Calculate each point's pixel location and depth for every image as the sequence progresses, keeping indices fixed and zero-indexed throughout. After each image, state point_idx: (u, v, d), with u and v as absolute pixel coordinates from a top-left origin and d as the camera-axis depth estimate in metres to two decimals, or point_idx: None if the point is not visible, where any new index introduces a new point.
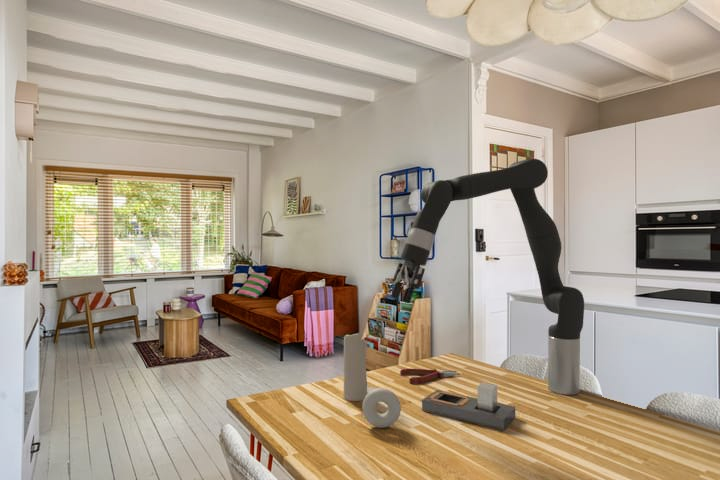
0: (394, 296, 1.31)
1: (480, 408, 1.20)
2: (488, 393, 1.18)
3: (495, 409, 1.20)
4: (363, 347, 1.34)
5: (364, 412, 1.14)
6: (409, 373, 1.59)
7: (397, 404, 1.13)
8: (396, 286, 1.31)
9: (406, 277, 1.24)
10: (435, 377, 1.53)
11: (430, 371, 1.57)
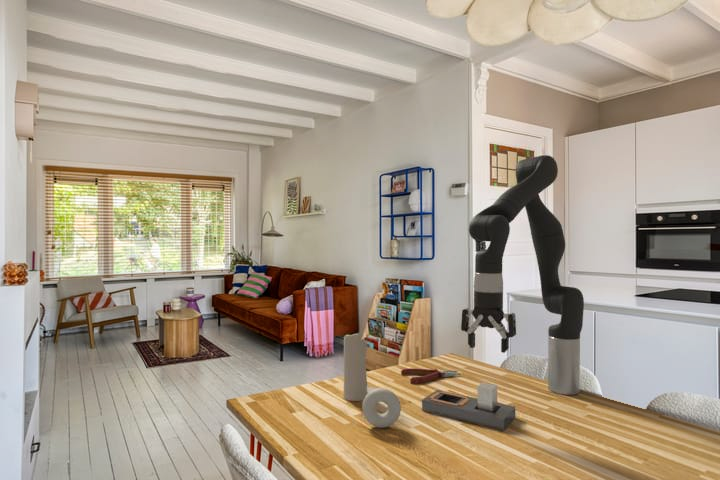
0: (473, 346, 1.22)
1: (480, 408, 1.20)
2: (488, 393, 1.18)
3: (495, 409, 1.20)
4: (363, 347, 1.34)
5: (364, 412, 1.14)
6: (410, 373, 1.59)
7: (397, 404, 1.13)
8: (473, 335, 1.22)
9: (498, 327, 1.17)
10: (436, 377, 1.53)
11: (431, 371, 1.57)
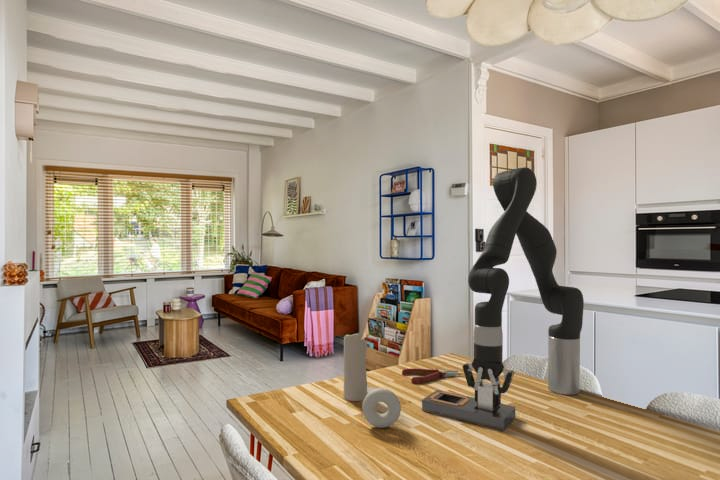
0: None
1: (480, 408, 1.20)
2: (488, 393, 1.18)
3: (495, 409, 1.20)
4: (363, 347, 1.34)
5: (364, 412, 1.14)
6: (411, 373, 1.59)
7: (397, 404, 1.13)
8: None
9: (493, 382, 1.18)
10: (437, 377, 1.54)
11: (432, 371, 1.57)
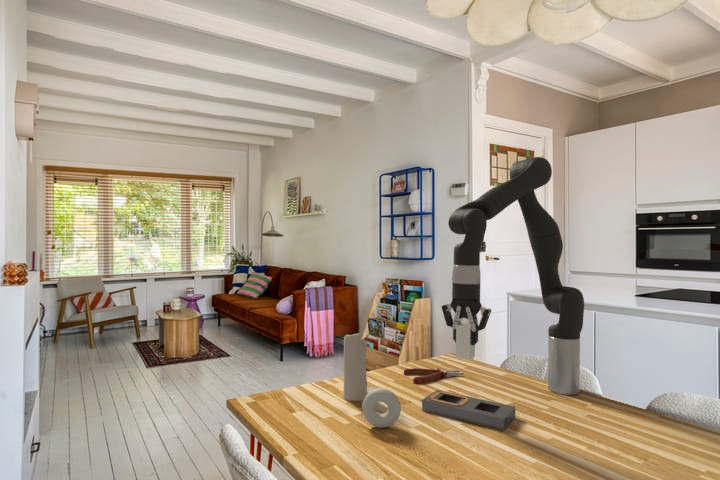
0: None
1: (458, 346, 1.22)
2: (466, 331, 1.21)
3: (473, 347, 1.23)
4: (363, 347, 1.34)
5: (364, 412, 1.14)
6: (412, 373, 1.59)
7: (397, 404, 1.13)
8: None
9: (471, 320, 1.21)
10: (439, 377, 1.54)
11: (433, 371, 1.58)
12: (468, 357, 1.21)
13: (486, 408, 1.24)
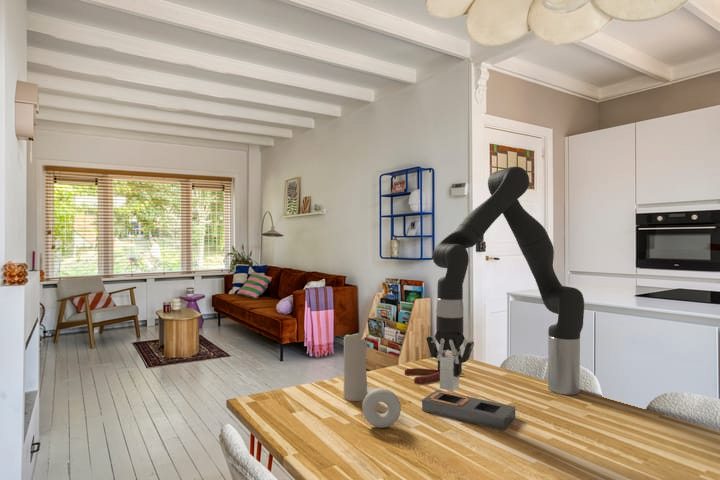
0: None
1: (442, 377, 1.26)
2: (449, 363, 1.24)
3: (456, 378, 1.26)
4: (363, 347, 1.34)
5: (364, 412, 1.14)
6: (413, 373, 1.59)
7: (397, 404, 1.13)
8: None
9: (454, 352, 1.24)
10: (439, 377, 1.54)
11: (434, 371, 1.58)
12: (451, 388, 1.24)
13: (486, 408, 1.24)
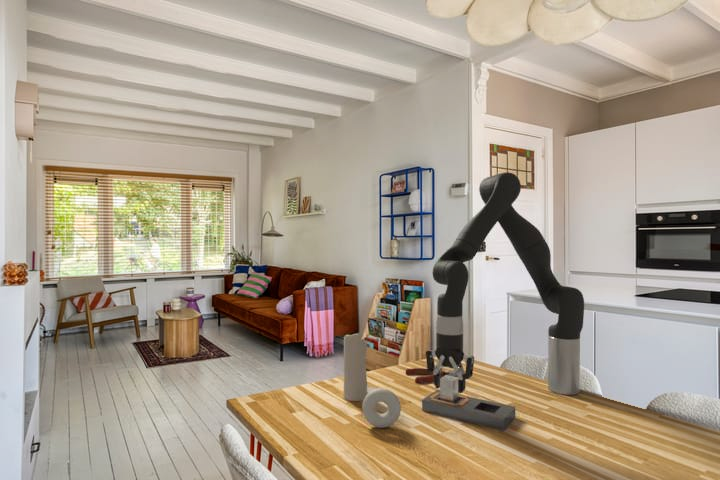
0: (438, 386, 1.28)
1: (442, 399, 1.26)
2: (449, 385, 1.25)
3: (456, 400, 1.26)
4: (363, 347, 1.34)
5: (364, 412, 1.14)
6: (414, 373, 1.59)
7: (397, 404, 1.13)
8: (438, 376, 1.28)
9: (456, 369, 1.24)
10: None
11: None
12: None
13: (486, 408, 1.24)
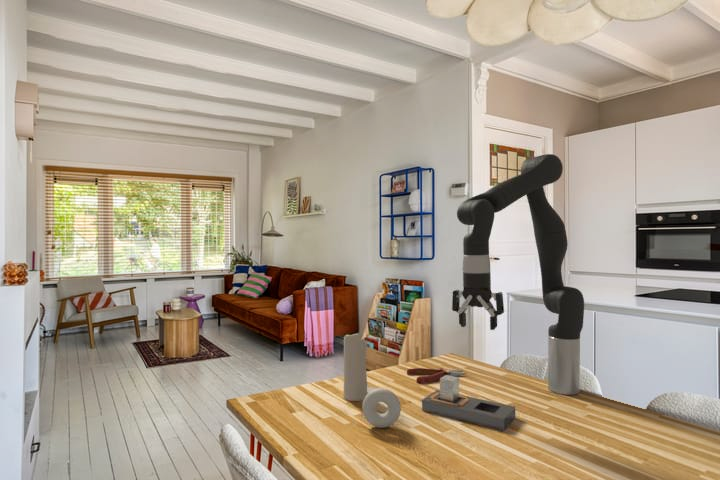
0: (464, 325, 1.29)
1: (442, 399, 1.26)
2: (449, 385, 1.25)
3: (456, 400, 1.26)
4: (364, 347, 1.34)
5: (364, 412, 1.14)
6: (416, 373, 1.59)
7: (397, 404, 1.13)
8: (463, 315, 1.28)
9: (486, 306, 1.23)
10: (442, 376, 1.54)
11: (437, 371, 1.58)
12: None
13: (486, 408, 1.24)
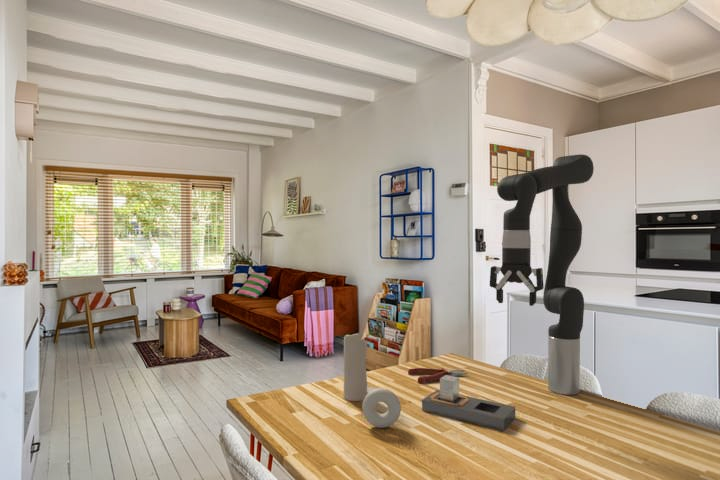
0: (501, 301, 1.28)
1: (442, 399, 1.26)
2: (449, 385, 1.25)
3: (456, 400, 1.26)
4: (363, 347, 1.34)
5: (364, 412, 1.14)
6: (417, 372, 1.59)
7: (397, 404, 1.13)
8: (501, 291, 1.28)
9: (526, 282, 1.23)
10: None
11: (438, 370, 1.58)
12: None
13: (486, 408, 1.24)
